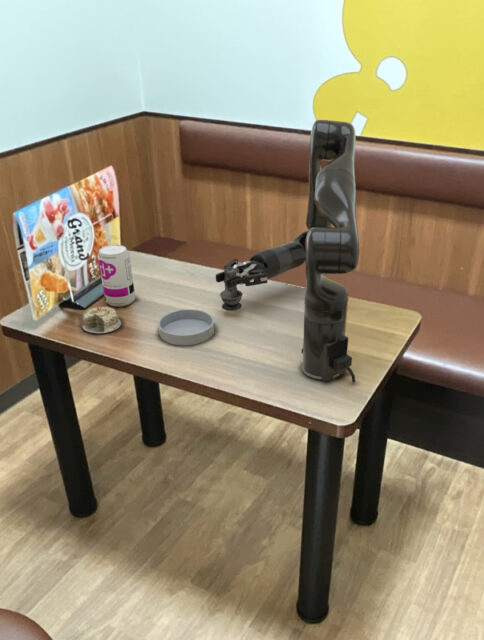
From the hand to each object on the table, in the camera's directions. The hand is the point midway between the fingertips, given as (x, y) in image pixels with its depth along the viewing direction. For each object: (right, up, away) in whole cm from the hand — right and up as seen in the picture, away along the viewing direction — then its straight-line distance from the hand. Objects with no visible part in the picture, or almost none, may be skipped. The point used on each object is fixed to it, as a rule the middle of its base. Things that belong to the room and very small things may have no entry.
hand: (221, 281), depth 155 cm
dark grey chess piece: (+2, -6, +6) cm, 9 cm away
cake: (-31, -11, +2) cm, 33 cm away
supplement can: (-29, -3, +14) cm, 32 cm away
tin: (-9, -13, -1) cm, 16 cm away
